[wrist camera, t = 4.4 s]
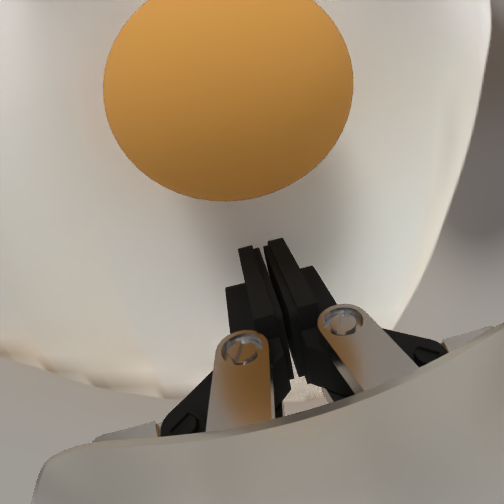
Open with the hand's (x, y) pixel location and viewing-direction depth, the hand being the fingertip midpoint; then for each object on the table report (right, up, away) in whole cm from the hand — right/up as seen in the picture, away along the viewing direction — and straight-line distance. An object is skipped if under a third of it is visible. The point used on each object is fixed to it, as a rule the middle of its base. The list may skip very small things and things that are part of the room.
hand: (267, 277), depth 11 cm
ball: (-1, +5, -5) cm, 7 cm away
